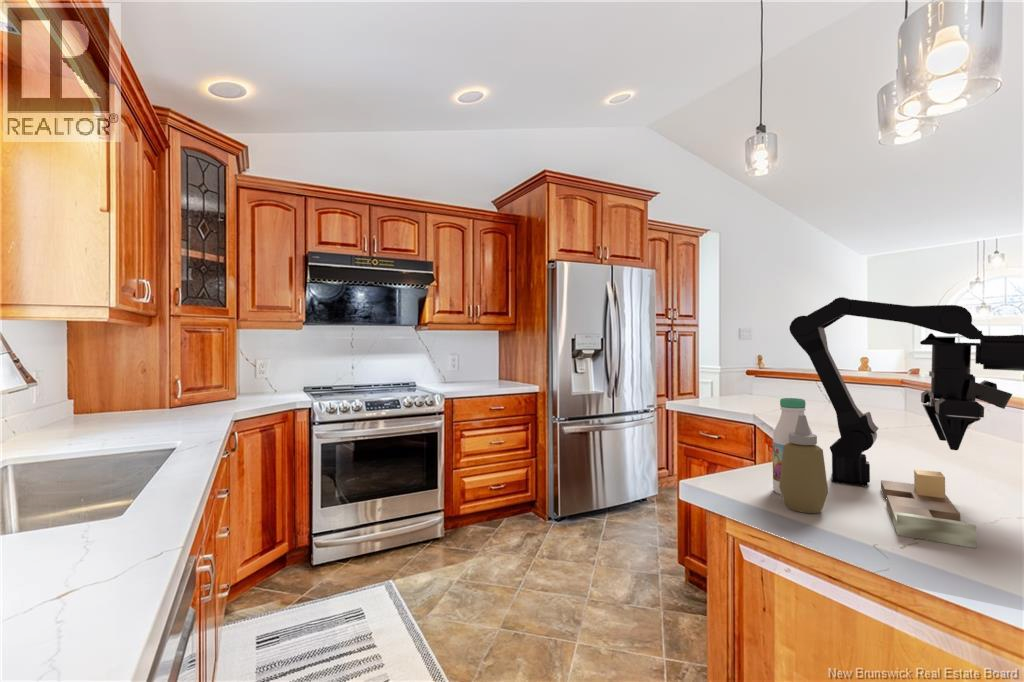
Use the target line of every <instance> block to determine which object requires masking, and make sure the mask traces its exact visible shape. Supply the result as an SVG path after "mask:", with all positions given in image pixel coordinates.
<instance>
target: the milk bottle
mask: <svg viewBox="0 0 1024 682" xmlns="http://www.w3.org/2000/svg"><path fill="white" fill-rule="evenodd" d="M779 405H780V410H781V414H780V417H779V420H778V422H777V423H776V426H775V428H774V431H773V436H772V486H773V487H772V489H773V492H775V493H776V494H778V495H780V496H782V493H781V490H780V488H779V484H780V474H781V464H782V454H783V446H784V445H786V444H787V443H790V442H789V433H791V432H795V429H796V425H797V420H798V416H799V415H805V411H806V400H805V399H802V398H797V397H795V398H794V397H787V398H785V397H783V398H780V400H779ZM808 426H809V424H808ZM809 430H810V433H811V434H813V431H812V429H811V428H810V426H809Z"/></svg>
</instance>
